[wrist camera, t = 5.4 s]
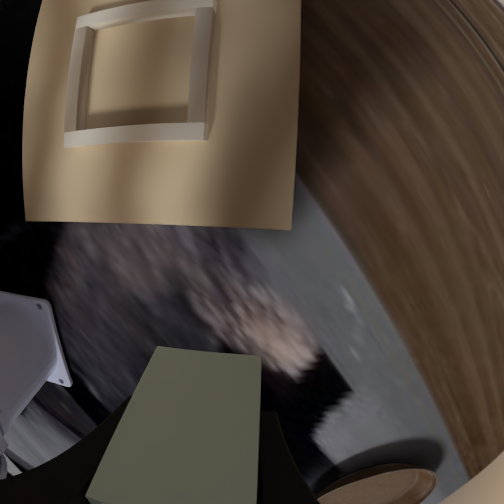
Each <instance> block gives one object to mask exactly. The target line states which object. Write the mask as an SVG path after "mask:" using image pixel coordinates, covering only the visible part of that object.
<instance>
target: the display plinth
mask: <svg viewBox="0 0 504 504" xmlns="http://www.w3.org/2000/svg"><path fill="white" fill-rule="evenodd" d="M300 41H301V0H42V4H41V8H40V12H39V16H38V20H37V24H36V29H35V33H34V38H33V44H32V49H31V55H30V61H29V68H28V75H27V83H26V92H25V103H24V117H23V142H22V166H23V192H24V206H25V218H26V221H60V222H106V223H140V224H168V225H192V226H215V227H236V228H255V229H273V230H290V231H291V224H292V210H293V196H294V181H295V165H296V147H297V128H298V105H299V79H300Z"/></svg>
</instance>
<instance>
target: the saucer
mask: <svg viewBox="0 0 504 504" xmlns="http://www.w3.org/2000/svg"><path fill="white" fill-rule="evenodd" d="M437 483H438V477H437V475H436V474H435V473H434V472H433V471H431V470H429V469H427V468H424V467H421V466H417V465H413V464H405V463H389V464H382V465H377V466H373V467H369V468H365V469H362V470H359V471H356V472H354V473H351V474H349V475H346V476H344V477H342V478H340V479H338V480H336V481H335V482H333V483H331V484H330V485H329V486H327V487H326V488H325V489H323V490H322V491H321V492H320V493H319V494H318V495H317V496H316V499H317V500H318V501H319V503H320V504H420V503H422V502H423V501H424V500H425V499H426V498H427V497H428V496H429V495H430V494H431V493H432V492H433V491H434V489H435V488H436V486H437Z"/></svg>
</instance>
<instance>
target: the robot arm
mask: <svg viewBox="0 0 504 504" xmlns="http://www.w3.org/2000/svg"><path fill="white" fill-rule="evenodd" d="M40 305H41V306H40ZM46 380H47V381H50V382H53V383H56V384H60V385H63V386H67V387H71V385H72V384H73V382H72V379H71V376H70V373H69V370H68V366H67V363H66V360H65V357H64V353H63V350H62V346H61V343H60V339H59V336H58V332H57V328H56V324H55V320H54V316H53V312H52V307H51V304H50V303H49V301H47V300H45V299H40V298H35V297H29V296H24V295H19V294H14V293H9V292H4V291H0V504H91V503H90V502H89V501H88V499H87V498H86V497H85V495H86V493H87V491H88V489H89V486H90V484H91V482H92V480H93V478H94V475H95V473H96V471H97V469H98V467H99V464H100V462H101V460H102V458H103V456H104V454H105V451H106V449H107V447H108V445H109V443H110V441H111V439H112V437H113V434H114V432H115V430H116V428H117V426H118V424H119V422H120V420H121V418H122V416H123V414H124V412H125V410H126V408H127V406H128V404H129V401H130V399H131V397H132V395H131V396H129V397H128V398H127V399H126V400H125V401H124V402H123V403H122V404H121V405H120V406H119V407H118V408H117V409H116V410H115V411H114V412H113V413H112V414H111V415H110V416H108V417H107V418H106V419H105V420H104V421H103V422H102V423H101V424H100V425H99V426H97V427H96V428H95V429H94V430H93V431H92V432H90V433H89V434H88V435H87V436H85V437H84V438H83V439H82V440H80V441H79V442H78V443H76V444H75V445H74V446H72V447H71V448H69V449H68V450H66V451H65V452H63V453H62V454H60V455H58V456H57V457H55V458H53V459H51V460H50V461H48V462H46V463H44V464H42V465H40V466H38V467H36V468H33V469H31V470H28V471H26V472H23V473H21V474H18V475H15V476H12V477H9V478H6V475H7V462H6V459H5V457H4V455H3V452H4V451H5V450H6V448H7V447H8V443H7V442H6V441H5V439H4V438H3V436H4V434H5V433H6V432H7V430H8V429H9V428H10V426H11V425H12V424H13V422H14V421H15V420H16V418H17V417H18V416H19V414H20V413H21V412H22V411H23V409H24V408H25V407H26V405H27V404H28V403H29V402H30V400H31V399H32V398H33V397H34V395H35V394H36V393H37V392H38V390H39V389H40V388H41V387H42V385H43V384H44V383H45V382H46ZM256 504H320V503H319V501H318V500H317V499H316V497H315V496H314V494H313V493H312V491H311V490H310V488H309V487H308V485H307V483H306V482H305V480H304V478H303V477H302V475H301V473H300V471H299V469H298V467H297V466H296V464H295V462H294V459H293V457H292V455H291V453H290V451H289V448H288V446H287V444H286V441H285V438H284V436H283V433H282V430H281V426H280V423H279V419H278V414H277V413H276V412H275V411H260V420H259V450H258V477H257V502H256Z"/></svg>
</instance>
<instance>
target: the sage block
mask: <svg viewBox="0 0 504 504" xmlns="http://www.w3.org/2000/svg"><path fill="white" fill-rule="evenodd" d="M260 386H261V356H255V355H239V354H226V353H214V352H204V351H194V350H185V349H176V348H168V347H160V346H157V348H156V350H155V352H154V354H153V356H152V358H151V360H150V362H149V364H148V366H147V368H146V370H145V371H144V373H143V375H142V377H141V379H140V381H139V383H138V385H137V387H136V389H135V391H134V393H133V395H132V397H131V399H130V401H129V404H128V406H127V408H126V410H125V412H124V414H123V416H122V418H121V420H120V422H119V424H118V426H117V428H116V430H115V432H114V434H113V437H112V439H111V441H110V443H109V445H108V447H107V449H106V451H105V454H104V456H103V458H102V460H101V462H100V464H99V467H98V469H97V471H96V473H95V475H94V478H93V480H92V482H91V484H90V486H89V489H88V491H87V493H86V495H85V497H86V498H87V499H88V501H89V502H90V503H91V504H256V502H257V477H258V450H259V420H260Z"/></svg>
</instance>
